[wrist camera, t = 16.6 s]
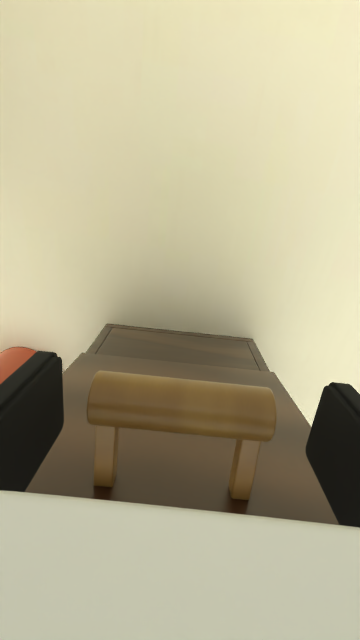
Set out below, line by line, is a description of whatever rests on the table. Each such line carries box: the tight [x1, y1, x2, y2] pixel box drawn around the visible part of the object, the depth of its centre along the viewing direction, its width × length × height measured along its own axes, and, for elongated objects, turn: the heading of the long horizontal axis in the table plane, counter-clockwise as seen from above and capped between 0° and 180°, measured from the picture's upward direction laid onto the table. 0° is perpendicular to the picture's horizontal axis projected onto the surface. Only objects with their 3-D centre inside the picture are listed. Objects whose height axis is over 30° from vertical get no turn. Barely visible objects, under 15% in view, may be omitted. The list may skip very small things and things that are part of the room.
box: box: [86, 324, 270, 372], centre depth 28 cm, size 13×15×7 cm
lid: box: [25, 353, 339, 525], centre depth 15 cm, size 14×15×5 cm
